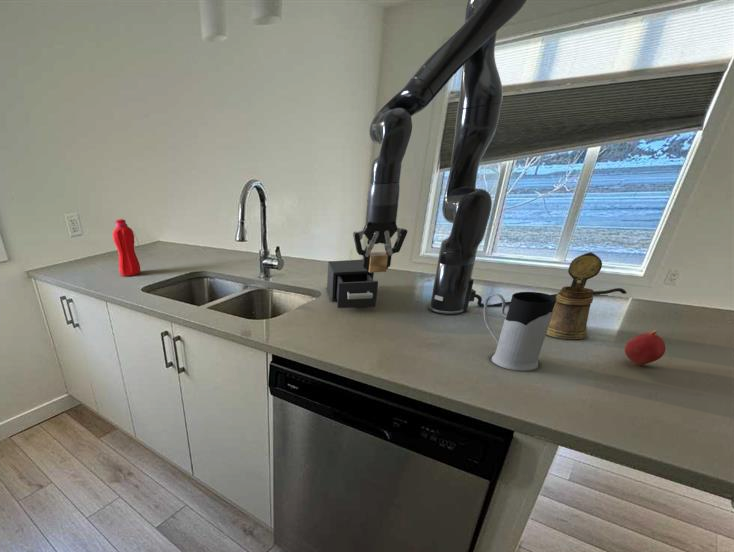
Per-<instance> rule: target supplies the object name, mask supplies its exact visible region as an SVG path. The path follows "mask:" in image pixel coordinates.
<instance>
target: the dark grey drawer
mask: <svg viewBox="0 0 734 552" xmlns="http://www.w3.org/2000/svg"><path fill="white" fill-rule="evenodd" d="M378 287H379V281H378V280H374V278H373V279H372V278H371V276H370V275H369V274H348V275H336V287H335V295H336V298H337V300H338V301H336V302H337V303H336V307H337V309H350V308H352V309H353V308H373V307H374V308H376V307H377V306H376V305H377V297H378V289H379V288H378Z"/></svg>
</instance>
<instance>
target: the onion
mask: <svg viewBox="0 0 734 552" xmlns="http://www.w3.org/2000/svg"><path fill="white" fill-rule="evenodd" d="M665 352H666V344H665V340H663V338H662V337H660V336H659V335H658V330H655V329H652V330H651V331H648V332H645V333H641V334H637V335H636V336H634V337H632V338H631V339H629V340H628V341H627V343H626V344H625V346H624V353H625V356H626V357H627V359H628V360H629V361H631V362H632V363H633V364H634V366H638V367H640V366H644V365H646V364H651V363H653V362H657V361H658V360H660V359H661V358H662V357H664V355H665Z"/></svg>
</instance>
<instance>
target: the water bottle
mask: <svg viewBox="0 0 734 552" xmlns="http://www.w3.org/2000/svg"><path fill="white" fill-rule="evenodd" d="M114 223H115V224H116V227H115V228H114V229H113V232H112V239H113V243H114V245H115V247H116V249H117V252H118V270H119V273H120V275H121V276H122V277H133V276H138V275H139V274H140V272H141V264H140V261H139V259H138V257H137V253H136V251H135V249H138V248H139V247H140V245H139V244H140V243H139V240H138V238H137V236H136V233H135V232H134V230H133V229H132V228H131V227H130V226H129V225H128V223H127V221H126V219H123V218H120V219H119V218H118V219H117V220H115V222H114ZM135 238H136V240H137V244H138V246H137V247H136V245H135V244H136V242H135Z"/></svg>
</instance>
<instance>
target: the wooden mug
mask: <svg viewBox="0 0 734 552" xmlns="http://www.w3.org/2000/svg"><path fill="white" fill-rule="evenodd" d="M602 268H603V261H602V259H601V257H599V256H598V255H596V254H595V253H593V252H590V251H589V252H587V253H583V254H581V255H579V256H577V257H575V258H574V259H572V260H571V262H570V264H569V267H568V270H567V272H568V275H569V276H570V277H571V278H572V282H571V284H570V286H569V285H568V286H566V285H565V286H563V287H562V288H561V289H560V291H559V292H557V293H556V294H557V296H556V299H557V300H556V303H555V306H554V309H553V312H552V313H553V315H552V318H551V321H550V324H549V327H548V330H547V333H546V336H548V337H549V336H550V337H553V338H555V339H556V338H557V339H562V340H563V339H564V340H582V339H584V338H586V336H587V332H588V327H587V324H588V320H589V313H590V309H591V304H593V301H594V294H593V291H594V289H592V288H587V287H586V284H587V281H588V280H590V279H592V278H594V277H596V276H597V275H598V274H599V273H600V271H602Z"/></svg>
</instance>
